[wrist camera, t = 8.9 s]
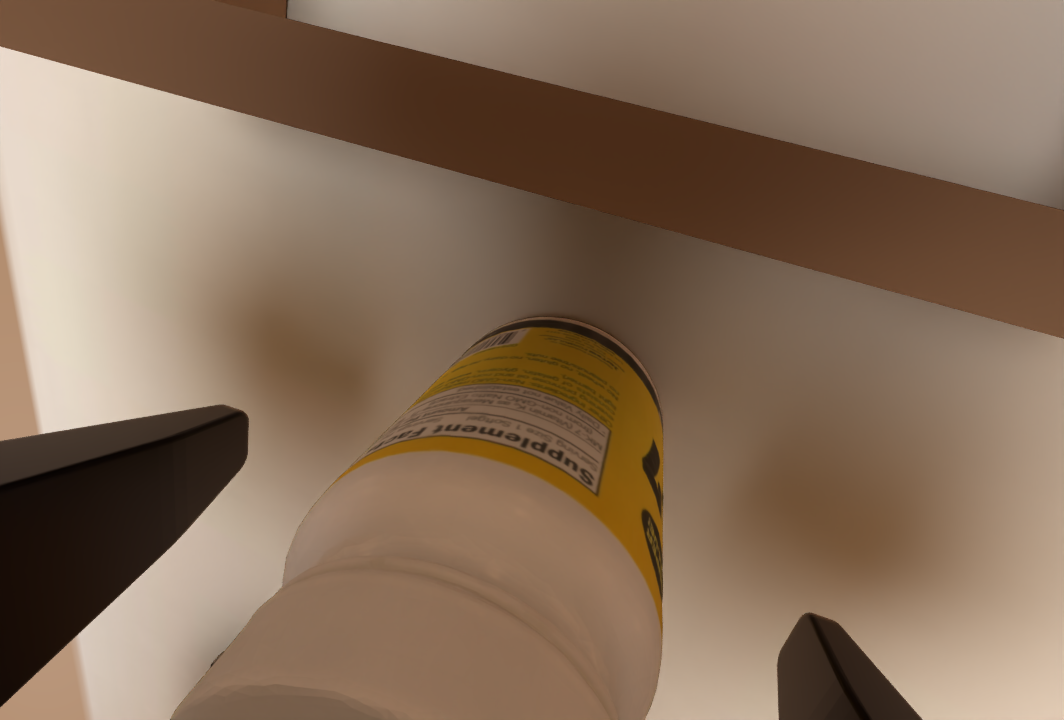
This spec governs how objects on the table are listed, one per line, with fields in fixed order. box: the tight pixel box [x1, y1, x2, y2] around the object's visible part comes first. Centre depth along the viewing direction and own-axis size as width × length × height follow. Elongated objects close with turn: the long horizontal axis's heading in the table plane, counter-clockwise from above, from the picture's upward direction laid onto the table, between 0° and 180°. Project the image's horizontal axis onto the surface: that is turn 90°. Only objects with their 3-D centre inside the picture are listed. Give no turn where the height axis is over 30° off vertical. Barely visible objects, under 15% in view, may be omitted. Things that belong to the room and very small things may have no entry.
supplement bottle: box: [170, 317, 663, 720], centre depth 8 cm, size 5×5×8 cm
